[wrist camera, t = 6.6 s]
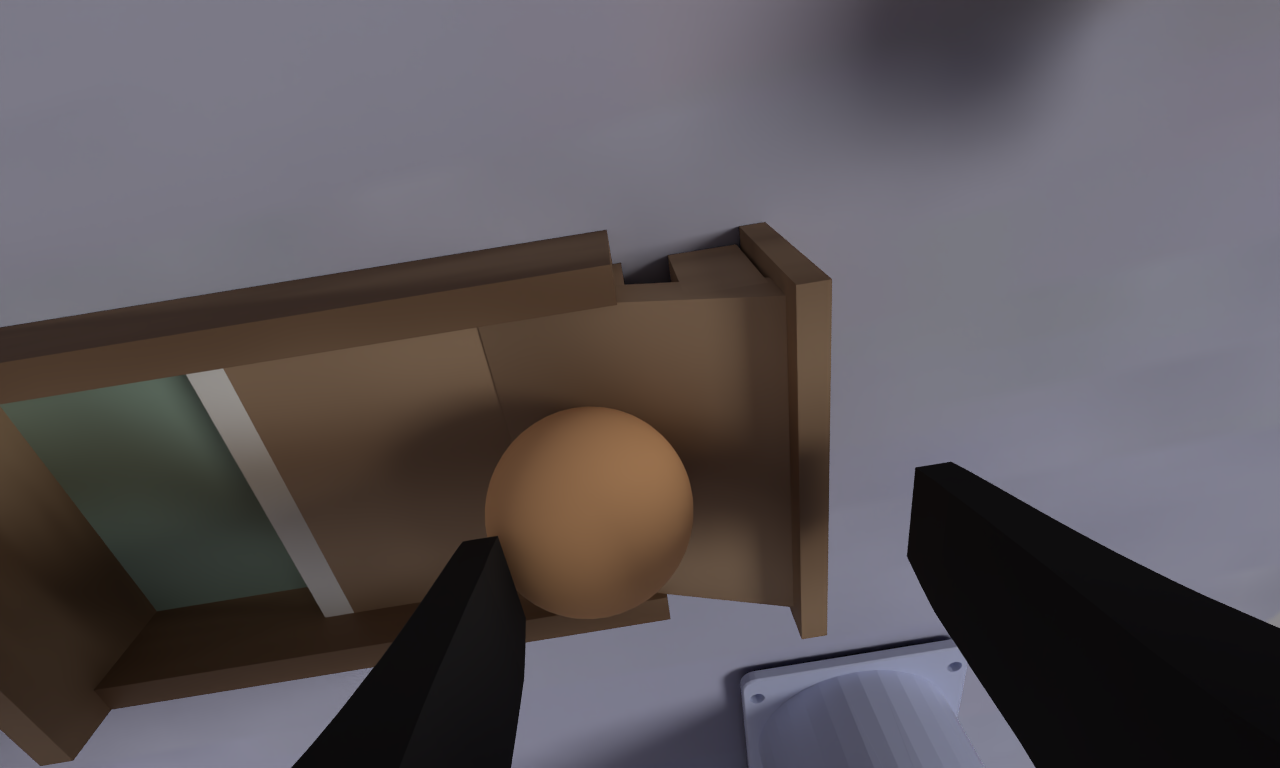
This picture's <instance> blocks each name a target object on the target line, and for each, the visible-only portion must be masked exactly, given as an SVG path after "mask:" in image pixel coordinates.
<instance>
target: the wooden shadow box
mask: <svg viewBox="0 0 1280 768" xmlns="http://www.w3.org/2000/svg"><path fill="white" fill-rule="evenodd" d="M739 230H740V247H741V250H740V248H739V247H738V246H737V245H736V244H735V245H729V246H723V247H716V248H710V249H704V250H698V251H692V252H685V253H679V254H673V255H668V261H669V269H670V278H671V282H668V283H648V284H628V285H624V279H623V273H622V267H621V263H617V264H612V259H611V253H610V247H609V241H608V236H607V230H603V231H597V232H591V233H584V234H578V235H572V236H566V237H560V238H553V239H547V240H541V241H535V242H529V243H522V244H516V245H510V246H504V247H498V248H491V249H485V250H479V251H473V252H466V253H460V254H454V255H448V256H442V257H435V258H429V259H423V260H417V261H411V262H404V263H398V264H392V265H386V266H380V267H373V268H367V269H361V270H355V271H349V272H342V273H336V274H330V275H324V276H318V277H311V278H305V279H299V280H293V281H287V282H280V283H274V284H268V285H262V286H256V287H249V288H243V289H237V290H231V291H225V292H218V293H212V294H206V295H200V296H193V297H187V298H181V299H175V300H169V301H162V302H156V303H150V304H144V305H138V306H131V307H125V308H119V309H113V310H107V311H100V312H94V313H88V314H82V315H76V316H69V317H63V318H57V319H51V320H45V321H38V322H32V323H26V324H20V325H14V326H7V327H1V328H0V730H1V731H3V732H4V733H5V734H6V735H7V736H8V737H9V738H10V739H11V740H12V741H13V742H15V743H16V744H17V745H18V746H19V747H20V748H21V749H22V750H23V751H24V752H26V753H27V754H28V755H29V756H30V757H31V758H32V759H33V760H34V761H35V762H37V763H38V764H39V765H40V766H43V765H49V764H55V763H62V762H68V761H73V760H74V759H75V757H76V756H77V755H78V753H79V752H80V751H81V749H82V748H83V747H84V745H85V744H86V743H87V741H88V740H89V739H90V737H91V736H92V735H93V733H94V732H95V731H96V729H97V728H98V727H99V725H100V724H101V723H102V721H103V720H104V719H105V717H106V716H107V715H108V713H109V712H110V711H111V709H117V708H123V707H130V706H136V705H142V704H148V703H154V702H161V701H167V700H173V699H179V698H185V697H191V696H198V695H204V694H210V693H216V692H222V691H229V690H235V689H241V688H247V687H253V686H260V685H266V684H272V683H278V682H284V681H290V680H297V679H303V678H309V677H315V676H321V675H328V674H334V673H340V672H346V671H352V670H358V669H365V668H371V667H375V665H376V664H377V663H378V661H379V660H380V659H381V657H382V656H383V655H384V653H385V652H386V651H387V649H388V648H389V646H390V645H391V644H392V642H393V641H394V639H395V638H396V637H397V635H398V634H399V632H400V631H401V630H402V628H403V627H404V625H405V624H406V622H407V621H408V620H409V618H410V617H411V615H412V614H413V613H414V611H415V610H416V608H417V607H418V605H419V604H420V603H421V601H422V600H423V598H424V597H425V595H426V594H427V592H428V591H429V589H430V588H431V586H432V585H433V583H434V582H435V580H436V579H437V578H438V576H439V575H440V573H441V572H442V570H443V569H444V567H445V566H446V564H447V563H448V561H449V560H450V558H451V557H452V555H453V554H454V553H455V551H456V550H457V548H458V547H459V546H460V544H461V543H462V542H463V541H468V540H474V539H480V538H487V533H486V527H485V503H486V495H487V491H488V487H489V483H490V480H491V477H492V475H493V472H494V470H495V467H496V466H497V464H498V462H499V460H500V459H501V457H502V455H503V454H504V452H505V451H506V450H507V448H508V447H509V446H510V444H511V443H512V442H513V441H514V440H515V439H516V438H517V437H518V436H519V435H520V434H521V433H522V432H523V431H525V430H526V429H527V428H529V427H530V426H531V425H533V424H534V423H536V422H538V421H539V420H541V419H543V418H545V417H546V416H549V415H551V414H554V413H556V412H559V411H563V410H567V409H571V408H577V407H587V406H590V407H606V408H611V409H616V410H619V411H622V412H625V413H628V414H631V415H633V416H635V417H637V418H639V419H641V420H642V421H644V422H646V423H647V424H649V425H650V426H652V427H653V428H654V429H655V430H657V431H658V432H659V433H660V434H661V435H662V436H663V437H664V438H665V439H666V440H667V441H668V442H669V443H670V445H671V446H672V447H673V448H674V450H675V451H676V453H677V454H678V456H679V458H680V460H681V461H682V463H683V465H684V468H685V470H686V472H687V475H688V478H689V482H690V486H691V490H692V496H693V525H692V532H691V537H690V540H689V543H688V547H687V550H686V552H685V554H684V556H683V558H682V560H681V563H680V565H679V566H678V568H677V569H676V571H675V572H674V574H673V575H672V577H671V578H670V579H669V580H668V581H667V583H666V584H665V585H664V586H663V587H662V588H661V589H660V590H659V591H658V592H657V593H656V594H654V595H653V596H652V597H651V598H650V599H648V600H647V601H645V602H643V603H642V604H640V605H639V606H637V607H635V608H633V609H631V610H628V611H626V612H624V613H621V614H618V615H614V616H611V617H606V618H598V619H575V618H569V617H564V616H560V615H557V614H554V613H551V612H548V611H546V610H544V609H542V608H540V607H538V606H536V605H534V604H533V603H532V602H530V601H529V600H527V599H526V598H525V597H523V596H522V595H521V594H520V593H519V592H518V591H517V590H516V591H517V594H518V596H519V599H520V602H521V605H522V608H523V611H524V614H525V617H526V639H525V642H532V641H538V640H544V639H550V638H556V637H563V636H569V635H575V634H581V633H587V632H594V631H600V630H606V629H612V628H618V627H624V626H631V625H637V624H643V623H649V622H655V621H662V620H668V619H670V612H669V606H668V599H667V594H673V595H682V596H692V597H702V598H711V599H721V600H730V601H740V602H749V603H759V604H769V605H778V606H788V607H790V609H791V612H792V614H793V617H794V620H795V622H796V625H797V628H798V630H799V633H800V636H801V638H802V639H806V638H812V637H818V636H824V635H827V592H828V522H829V452H830V382H831V311H832V279H831V278H830V277H829V276H828V275H826V274H825V273H824V272H823V271H822V270H821V269H819V268H818V267H817V266H816V265H815V264H814V263H812V262H811V261H810V260H809V259H808V258H806V257H805V256H804V255H803V254H802V253H801V252H799V251H798V250H797V249H796V248H795V247H794V246H792V245H791V244H790V243H789V242H788V241H787V240H785V239H784V238H783V237H782V236H781V235H780V234H778V233H777V232H776V231H775V230H774V229H773V228H771V227H770V226H769V225H768V224H767V223H766V222H764V223H757V224H751V225H745V226H739Z"/></svg>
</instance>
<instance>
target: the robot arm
mask: <svg viewBox="0 0 1280 768" xmlns="http://www.w3.org/2000/svg"><path fill="white" fill-rule="evenodd" d="M907 557H908V559H909V562H910V564H911V566H912V568H913V570H914V572H915V574H916V576H917V578H918V580H919V582H920V585H921V587H922V589H923V590H924V592H925V594H926V596H927V598H928V600H929V602H930V604H931V606H932V608H933V610H934V612H935V613H936V615H937V616H938V618H939V620H940V621H941V623H942V624H943V626H944V627H945V629H946V630H947V632H948V634H949V635H950V637H951V638H952V639H949V640H943V641H937V642H931V643H925V644H918V645H912V646H906V647H900V648H894V649H887V650H881V651H875V652H869V653H863V654H857V655H850V656H844V657H838V658H832V659H826V660H819V661H813V662H807V663H801V664H795V665H789V666H782V667H776V668H770V669H764V670H758V671H752V672H749V673H747V674H745V675H744V676H743V677H742V679H741V681H740V686H741V697H742V707H743V718H744V728H745V739H746V749H747V760H748V768H985V766H984V764H983V763H982V761H981V759H980V757H979V756H978V754H977V752H976V750H975V749H974V747H973V745H972V743H971V742H970V740H969V738H968V736H967V735H966V733H965V731H964V729H963V728H962V726H961V724H960V722H959V721H958V719H957V717H958V712H959V707H960V702H961V696H962V691H963V686H964V680H965V675H966V670H967V665H968V664H969V666H970V667H971V669H972V670H973V672H974V673H975V675H976V676H977V678H978V679H979V681H980V682H981V684H982V685H983V687H984V688H985V690H986V691H987V693H988V694H989V696H990V697H991V699H992V700H993V702H994V703H995V705H996V706H997V708H998V709H999V711H1000V712H1001V714H1002V715H1003V717H1004V718H1005V720H1006V721H1007V723H1008V724H1009V726H1010V727H1011V729H1012V731H1013V732H1014V734H1015V735H1016V737H1017V738H1018V740H1019V741H1020V743H1021V744H1022V746H1023V748H1024V749H1025V751H1026V753H1027V754H1028V756H1029V757H1030V759H1031V761H1032V762H1033V764H1034V766H1035V767H1036V768H1280V628H1278V627H1275V626H1273V625H1271V624H1268V623H1266V622H1264V621H1262V620H1259V619H1257V618H1255V617H1252V616H1250V615H1248V614H1246V613H1243V612H1241V611H1239V610H1236V609H1234V608H1232V607H1229V606H1227V605H1225V604H1223V603H1220V602H1218V601H1216V600H1213V599H1211V598H1209V597H1207V596H1204V595H1202V594H1200V593H1198V592H1196V591H1194V590H1192V589H1189V588H1187V587H1185V586H1183V585H1181V584H1179V583H1177V582H1174V581H1172V580H1170V579H1168V578H1166V577H1164V576H1162V575H1160V574H1158V573H1156V572H1154V571H1152V570H1150V569H1148V568H1146V567H1144V566H1142V565H1140V564H1138V563H1136V562H1134V561H1132V560H1130V559H1128V558H1126V557H1124V556H1122V555H1120V554H1118V553H1116V552H1114V551H1112V550H1111V549H1109V548H1107V547H1105V546H1103V545H1101V544H1099V543H1097V542H1095V541H1093V540H1091V539H1090V538H1088V537H1086V536H1084V535H1082V534H1080V533H1078V532H1077V531H1075V530H1073V529H1071V528H1069V527H1067V526H1066V525H1064V524H1062V523H1060V522H1058V521H1057V520H1055V519H1053V518H1051V517H1049V516H1048V515H1046V514H1044V513H1042V512H1040V511H1039V510H1037V509H1035V508H1033V507H1032V506H1030V505H1028V504H1026V503H1025V502H1023V501H1021V500H1019V499H1017V498H1016V497H1014V496H1012V495H1010V494H1009V493H1007V492H1005V491H1003V490H1002V489H1000V488H998V487H996V486H995V485H993V484H991V483H989V482H988V481H986V480H984V479H982V478H980V477H979V476H977V475H975V474H973V473H971V472H970V471H968V470H966V469H964V468H962V467H960V466H958V465H956V464H954V463H952V462H947V463H941V464H934V465H928V466H922V467H916V468H915V478H914V489H913V499H912V509H911V520H910V530H909V541H908V551H907ZM525 639H526V617H525V614H524V611H523V608H522V605H521V602H520V599H519V596H518V594H517V591H516V588H515V585H514V582H513V579H512V576H511V573H510V570H509V567H508V564H507V561H506V558H505V555H504V552H503V550H502V547H501V544H500V541H499V538H498V536H493V537H487V538H480V539H474V540H468V541H463V542H462V543H461V544H460V546H459V547H458V548H457V550H456V551H455V553H454V554H453V555H452V557H451V558H450V560H449V561H448V563H447V564H446V566H445V567H444V569H443V570H442V572H441V573H440V575H439V576H438V578H437V579H436V580H435V582H434V583H433V585H432V586H431V588H430V589H429V591H428V592H427V594H426V595H425V597H424V598H423V600H422V601H421V603H420V604H419V605H418V607H417V608H416V610H415V611H414V613H413V614H412V615H411V617H410V618H409V620H408V621H407V622H406V624H405V625H404V627H403V628H402V630H401V631H400V632H399V634H398V635H397V637H396V638H395V639H394V641H393V642H392V644H391V645H390V646H389V648H388V649H387V651H386V652H385V653H384V655H383V656H382V657H381V659H380V660H379V661H378V663H377V664H376V665H375V667H374V668H373V669H372V670H371V672H370V673H369V674H368V676H367V677H366V678H365V679H364V681H363V682H362V683H361V685H360V686H359V687H358V688H357V690H356V691H355V692H354V694H353V695H352V696H351V697H350V699H349V700H348V701H347V703H346V704H345V705H344V706H343V708H342V709H341V710H340V711H339V713H338V714H337V715H336V716H335V718H334V719H333V720H332V721H331V722H330V724H329V725H328V726H327V727H326V728H325V730H324V731H323V732H322V733H321V734H320V736H319V737H318V738H317V739H316V740H315V741H314V743H313V744H312V745H311V746H310V747H309V748H308V750H307V751H306V752H305V753H304V754H303V755H302V756H301V757H300V759H299V760H298V761H297V762H296V763H295V764H294V765H293V766H292V767H291V768H511V764H512V757H513V750H514V744H515V737H516V731H517V724H518V717H519V710H520V703H521V696H522V689H523V682H524V668H525Z"/></svg>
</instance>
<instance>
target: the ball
mask: <svg viewBox="0 0 1280 768" xmlns="http://www.w3.org/2000/svg"><path fill="white" fill-rule="evenodd" d="M692 525H693V496H692V490H691V486H690V482H689V478H688V475H687V472H686V470H685V468H684V465H683V463H682V461H681V460H680V458H679V456H678V454H677V453H676V451H675V450H674V448H673V447H672V446H671V445H670V443H669V442H668V441H667V440H666V439H665V438H664V437H663V436H662V435H661V434H660V433H659V432H658V431H657V430H655V429H654V428H653V427H652V426H650V425H649V424H647V423H646V422H644V421H642V420H641V419H639V418H637V417H635V416H633V415H631V414H628V413H625V412H622V411H619V410H616V409H611V408H606V407H590V406H587V407H577V408H571V409H567V410H563V411H559V412H556V413H554V414H551V415H549V416H546V417H545V418H543V419H541V420H539V421H538V422H536V423H534V424H533V425H531V426H530V427H529V428H527V429H526V430H525V431H523V432H522V433H521V434H520V435H519V436H518V437H517V438H516V439H515V440H514V441H513V442H512V443H511V444H510V446H509V447H508V448H507V450H506V451H505V452H504V454H503V455H502V457H501V459H500V460H499V462H498V464H497V466H496V467H495V470H494V472H493V475H492V477H491V480H490V483H489V487H488V491H487V495H486V503H485V527H486V533H487V537H493V536H498V538H499V541H500V544H501V547H502V550H503V552H504V555H505V558H506V561H507V564H508V567H509V570H510V573H511V576H512V579H513V582H514V585H515V588H516V590H517V591H518V592H519V593H520V594H521V595H522V596H523V597H525V598H526V599H527V600H529V601H530V602H532V603H533V604H534V605H536V606H538V607H540V608H542V609H544V610H546V611H548V612H551V613H554V614H557V615H560V616H564V617H569V618H575V619H598V618H606V617H611V616H614V615H618V614H621V613H624V612H626V611H628V610H631V609H633V608H635V607H637V606H639V605H640V604H642V603H643V602H645V601H647V600H648V599H650V598H651V597H652V596H653V595H654V594H656V593H657V592H658V591H659V590H660V589H661V588H662V587H663V586H664V585H665V584H666V583H667V581H668V580H669V579H670V578H671V577H672V575H673V574H674V572H675V571H676V569H677V568H678V566H679V565H680V563H681V560H682V558H683V556H684V554H685V552H686V550H687V547H688V543H689V540H690V537H691V532H692Z"/></svg>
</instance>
